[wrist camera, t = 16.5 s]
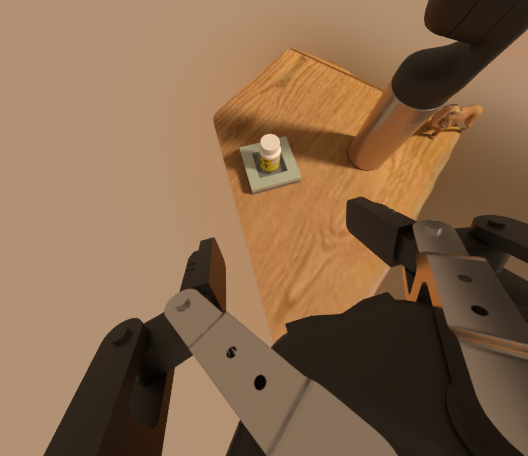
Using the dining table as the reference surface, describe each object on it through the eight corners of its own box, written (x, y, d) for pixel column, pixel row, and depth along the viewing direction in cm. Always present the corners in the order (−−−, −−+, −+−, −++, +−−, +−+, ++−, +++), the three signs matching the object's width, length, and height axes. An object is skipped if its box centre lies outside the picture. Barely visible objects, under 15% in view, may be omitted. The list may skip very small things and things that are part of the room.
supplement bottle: (256, 163, 46) (253, 139, 38) (271, 153, 47) (272, 128, 39) (267, 177, 45) (267, 155, 37) (283, 167, 46) (286, 144, 38)
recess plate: (240, 153, 48) (239, 147, 46) (285, 141, 49) (285, 135, 47) (252, 194, 45) (251, 190, 43) (299, 181, 46) (301, 177, 44)
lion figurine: (421, 148, 48) (455, 119, 39) (409, 131, 49) (440, 100, 40) (470, 130, 49) (514, 99, 40) (458, 115, 50) (498, 81, 41)
